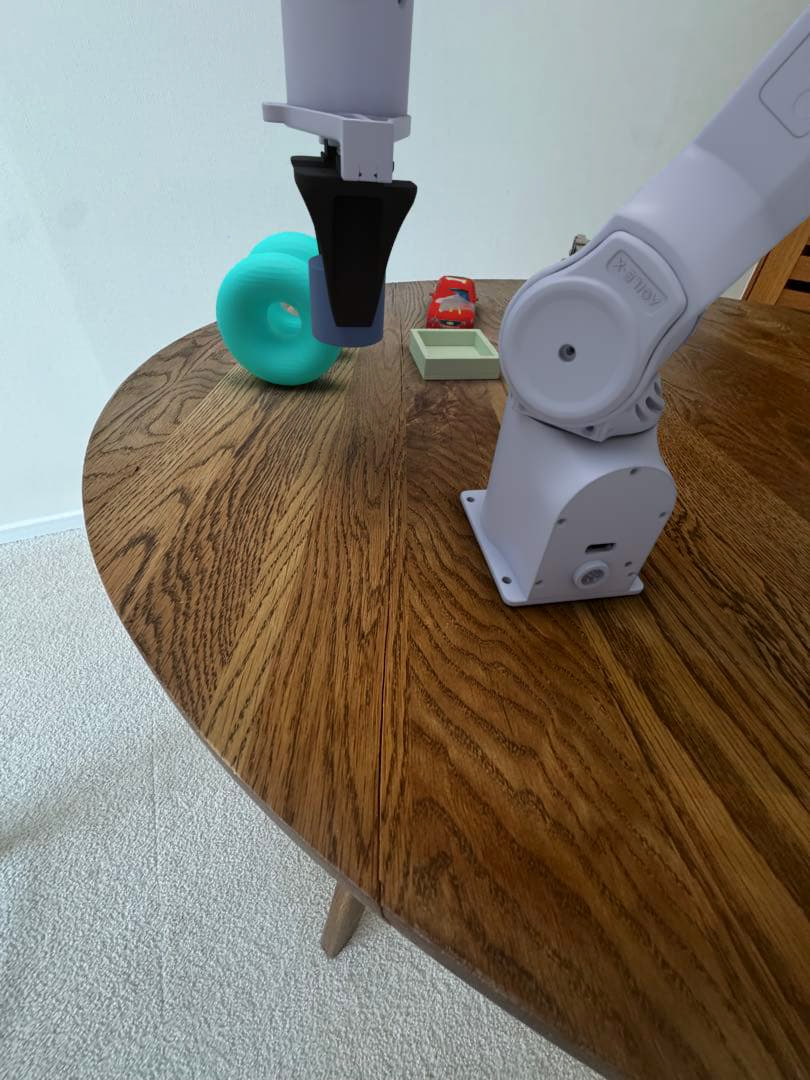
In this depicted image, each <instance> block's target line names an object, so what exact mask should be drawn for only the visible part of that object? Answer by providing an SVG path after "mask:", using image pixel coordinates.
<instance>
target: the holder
mask: <svg viewBox="0 0 810 1080" xmlns="http://www.w3.org/2000/svg"><path fill="white" fill-rule="evenodd" d="M408 340H409V341H408V350H409V352H410V354H411V357H412V359H413V361H414V362H415V364H416V367H417V369H418V371H419V374H420V376H421V377H422V379H423V381H430V380H431V381H434V380H435V381H438V380H443V381H444V380H448V381H449V380H499V378H500V373H501V366H500V362H499V354H498V350H497V349H496V348H495V346H494V345H493V344H492V343H491V342H490V340H489V338H487V336H486V334H484V333H483V331H482V329H480V328H473V329H426V328H410V329H409V339H408Z"/></svg>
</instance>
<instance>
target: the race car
mask: <svg viewBox="0 0 810 1080" xmlns="http://www.w3.org/2000/svg"><path fill="white" fill-rule="evenodd" d="M477 295H478V294H477V289H476V284H475V282H474V281H473V280H472V279H471V278H470V277H466V276H458V275H443V276H442V277H440V278H439V279H438V281H437V282H436V284H435V286H434V289H433V292H429V293H428V296H429V297H431V299H430V302H429V306H428V309H427V313H426V325H425V329H474V326H475V321H476V305H477V302H479V301H480V298H479V297H477Z"/></svg>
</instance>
